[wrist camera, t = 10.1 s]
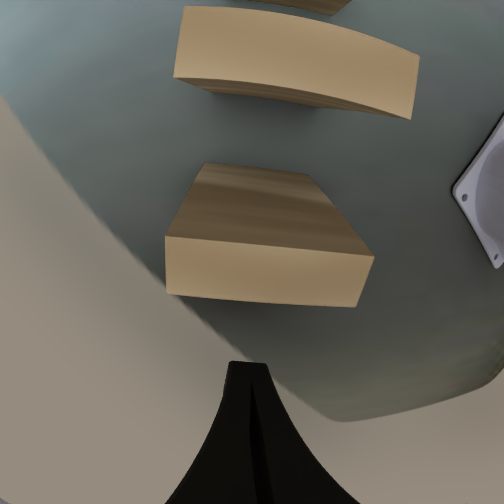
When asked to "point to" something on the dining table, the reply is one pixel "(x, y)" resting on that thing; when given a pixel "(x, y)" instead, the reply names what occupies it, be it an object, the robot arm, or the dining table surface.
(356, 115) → the dining table surface
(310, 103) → the domino
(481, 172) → the robot arm
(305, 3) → the domino
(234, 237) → the domino
